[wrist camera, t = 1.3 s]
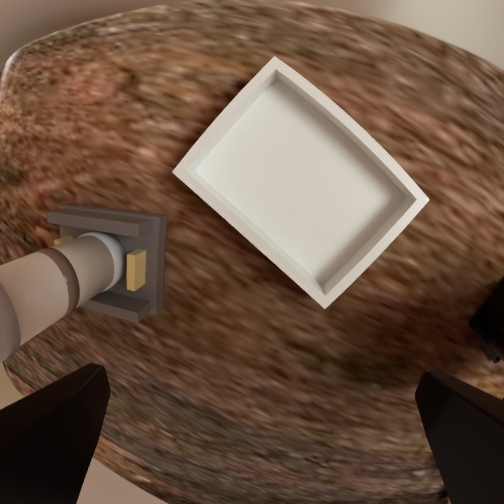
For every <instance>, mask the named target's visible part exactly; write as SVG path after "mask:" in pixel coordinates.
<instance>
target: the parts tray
mask: <svg viewBox="0 0 504 504" xmlns="http://www.w3.org/2000/svg"><path fill="white" fill-rule="evenodd" d="M172 173H173V174H175V175H176V176H177V177H178V178H179V179H180V180H181V181H182V182H184V183H185V184H186V185H187V186H188V187H189V188H190V189H192V190H193V191H194V192H195V193H196V194H197V195H198V196H199V197H201V198H202V199H203V200H204V201H205V202H206V203H207V204H208V205H209V206H211V207H212V208H213V209H214V210H215V211H216V212H217V213H218V214H220V215H221V216H222V217H223V218H224V219H225V220H226V221H227V222H229V223H230V224H231V225H232V226H233V227H234V228H235V229H236V230H238V231H239V232H240V233H241V234H242V235H243V236H244V237H245V238H246V239H248V240H249V241H250V242H251V243H252V244H253V245H254V246H255V247H257V248H258V249H259V250H260V251H261V252H262V253H263V254H264V255H265V256H267V257H268V258H269V259H270V260H271V261H272V262H273V263H274V264H275V265H277V266H278V267H279V268H280V269H281V270H282V271H283V272H284V273H285V274H287V275H288V276H289V277H290V278H291V279H292V280H293V281H294V282H295V283H297V284H298V285H299V286H300V287H301V288H302V289H303V290H304V291H305V292H307V293H308V294H309V295H310V296H311V297H312V298H313V299H314V300H315V301H317V302H318V303H319V304H320V305H321V306H322V307H323V308H324V309H326V308H327V307H328V306H329V305H330V304H331V303H332V302H333V301H334V300H335V299H336V298H337V297H338V296H339V295H340V294H341V293H342V292H343V291H344V290H345V289H346V288H348V287H349V286H350V285H351V284H352V283H353V282H354V281H355V280H356V279H357V278H358V277H359V276H360V275H361V274H362V273H363V272H364V271H365V270H366V269H367V268H368V266H369V265H370V264H371V263H372V262H373V261H374V260H375V259H376V258H377V257H378V256H379V255H380V254H381V253H382V252H383V251H384V250H385V249H386V248H387V247H388V246H389V245H390V243H391V242H392V241H393V240H394V239H395V238H396V237H397V236H398V235H399V234H400V233H401V232H402V230H403V229H404V228H405V227H406V226H407V225H408V224H409V223H410V222H411V220H412V219H413V218H414V217H415V216H416V215H417V214H418V212H419V211H420V210H421V209H422V208H423V207H424V206H425V204H426V203H427V202H428V201H429V199H428V197H427V196H426V195H425V194H424V193H423V191H422V190H421V189H420V188H419V187H418V186H417V184H416V183H415V182H414V181H413V180H412V179H411V178H410V177H409V175H408V174H407V173H406V172H405V171H404V170H403V169H402V168H401V167H400V166H399V164H398V163H397V162H396V161H395V160H394V159H393V158H392V157H391V156H390V155H389V154H388V153H387V152H386V151H385V150H384V149H383V148H382V147H381V146H380V145H379V144H378V143H377V142H376V141H375V140H374V139H373V138H372V137H371V136H370V135H369V134H368V133H367V132H366V131H365V130H364V129H363V128H362V127H361V126H360V125H359V124H357V123H356V122H355V121H354V120H353V119H352V118H351V117H350V116H349V115H348V114H347V113H345V112H344V111H343V110H342V109H341V108H340V107H339V106H337V105H336V104H335V103H334V102H333V101H332V100H330V99H329V98H328V97H327V96H326V95H325V94H323V93H322V92H321V91H320V90H318V89H317V88H316V87H315V86H314V85H312V84H311V83H310V82H309V81H307V80H306V79H305V78H303V77H302V76H301V75H300V74H298V73H297V72H296V71H294V70H293V69H292V68H290V67H289V66H288V65H286V64H285V63H283V62H282V61H281V60H279V59H278V58H277V57H275V56H274V57H273V58H272V59H271V60H270V61H269V62H268V63H267V64H266V65H265V66H264V67H263V68H262V69H261V70H260V71H259V72H258V73H257V74H256V76H255V77H254V78H253V79H252V80H251V81H250V82H249V83H248V84H247V85H246V86H245V87H244V88H243V89H242V90H241V91H240V92H239V93H238V95H237V96H236V97H235V98H234V99H233V100H232V101H231V102H230V103H229V104H228V106H227V107H226V108H225V109H224V110H223V111H222V112H221V113H220V115H219V116H218V117H217V118H216V119H215V120H214V121H213V123H212V124H211V125H210V126H209V127H208V128H207V130H206V131H205V132H204V133H203V134H202V136H201V137H200V138H199V139H198V140H197V142H196V143H195V144H194V145H193V146H192V148H191V149H190V150H189V151H188V153H187V154H186V155H185V156H184V158H183V159H182V160H181V161H180V163H179V164H178V165H177V166H176V168H175V169H174V170H173V172H172Z"/></svg>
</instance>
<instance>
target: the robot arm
mask: <svg viewBox="0 0 504 504" xmlns="http://www.w3.org/2000/svg"><path fill="white" fill-rule="evenodd" d="M475 323H476V324H475ZM474 324H475V325H474ZM469 326H470V328H471V330H472V331H473V332H474V334H475V335H476V337H477V338H478V340H479V341H480V343H481V344H482V346H483V347H484V349H485V350H486V352H487V353H488V355H489V356H490V358H491V359H492V361H493V362H494V363H498V362H499V361H500V360H501V359H502V360H503V361H504V282H503V283H502V284H501V285H500V287H499V288H498V289H497V290H496V292H495V293H494V294H493V295H492V296H491V298H490V299H489V300H488V301H487V302H486V303H485V305H484V306H483V307H482V308H481V309H480V310H479V311H478V313H477V314H476V315H475V316H474V317H473V318H472V319H471V321H470V323H469ZM109 398H110V385H109V381H108V377H107V373H106V369H105V367H104V366H103V365H99V364H94V363H89V364H87V365H85V366H83V367H81V368H79V369H78V370H76V371H74V372H72V373H70V374H68V375H66V376H64V377H62V378H61V379H59V380H57V381H55V382H53V383H51V384H49V385H47V386H45V387H43V388H42V389H40V390H38V391H36V392H34V393H32V394H30V395H28V396H26V397H24V398H22V399H20V400H18V401H16V402H14V403H13V404H11V405H8V406H6V407H4V408H3V409H1V410H0V504H76V503H77V500H78V497H79V494H80V491H81V488H82V485H83V482H84V479H85V476H86V473H87V471H88V468H89V465H90V462H91V459H92V457H93V454H94V451H95V449H96V446H97V443H98V440H99V436H100V433H101V429H102V425H103V421H104V417H105V413H106V409H107V405H108V401H109ZM415 400H416V403H417V406H418V409H419V413H420V416H421V420H422V423H423V426H424V430H425V433H426V437H427V440H428V442H429V445H430V447H431V450H432V453H433V455H434V458H435V460H436V463H437V466H438V468H439V471H440V474H441V477H442V479H443V482H444V485H445V488H446V491H447V494H448V497H449V500H450V503H451V504H504V398H503V400H501V399H499V398H497V397H494V396H492V395H490V394H488V393H486V392H484V391H482V390H480V389H478V388H475V387H473V386H471V385H469V384H467V383H465V382H463V381H461V380H459V379H457V378H455V377H453V376H451V375H448V374H446V373H444V372H442V371H440V370H438V369H432V370H427V371H425V372H424V373H423V375H422V377H421V380H420V382H419V385H418V387H417V389H416V392H415Z"/></svg>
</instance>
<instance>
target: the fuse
mask: <svg viewBox="0 0 504 504" xmlns="http://www.w3.org/2000/svg"><path fill="white" fill-rule="evenodd" d="M126 268H127V257H126V253H125V250H124V247H123V245H122V244H121V242H120V241H119V239H118V238H117V237H116V236H115V235H114V234H112V233H107V232H101V231H92V232H89V233H86V234H83V235H80V236H79V237H78V238H75V239H72V240H69V241H66V242H63V243H60V244H57V245H55V246H52V247H47V248H43V249H41V250H38V251H35V252H32V253H31V254H29V255H27V256H24V257H21V258H19V259H16V260H13V261H11V262H8V263H6V264H3V265H0V363H1V362H2V361H4V360H5V359H6V358H8V357H9V356H11V355H12V354H13V353H15V352H16V351H17V350H18V349H19V347H20V346H21V345H22V344H24V343H25V342H27V341H28V340H30V339H31V338H32V337H34V336H35V335H37V334H38V333H40V332H41V331H43V330H44V329H46V328H47V327H49V326H50V325H52V324H53V323H54V322H56V321H57V320H60V319H62V318H64V317H65V316H67V315H68V314H70V313H71V312H73V311H74V310H75V309H76V308H77V307H79V306H80V305H82V304H83V303H85V302H86V301H88V300H89V299H91V298H92V297H94V296H96V295H97V294H99V293H100V292H104V291H106V290H108V289H109V288H111V287H112V286H114V285H115V284H117V283H119V282H120V281H121V280H122V278H123V277H124V275H125V272H126Z"/></svg>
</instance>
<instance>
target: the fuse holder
mask: <svg viewBox="0 0 504 504" xmlns="http://www.w3.org/2000/svg"><path fill="white" fill-rule="evenodd" d="M47 223H53V224H59V225H60V238H59V239H55V240H54V242H55V245H57V244H60V243H63V242H66V241H69V240H72V239H75V238H78V237H79V236H80V235H83V234H86V233H89V232H92V231H101V232H107V233H112V234H114V235H115V236H116V237H117V238H118V239H119V241H120V242H121V244H122V245H123V247H124V250H125V253H126V257H127V268H126V272H125V275H124V277H123V278H122V280H121V281H120V282H119V283H117V284H115V285H114V286H112V287H111V288H109V289H108V290H106V291H104V292H100V293H99V294H97V295H96V296H94V297H92V298H91V299H89V300H88V301H86V302H85V303H83V304H82V305H80V307H83V308H86V309H89V310H93V311H96V312H99V313H102V314H106V315H109V316H113V317H116V318H120V319H123V320H127V321H130V322H134V323H139V322H140V321H141V320H142V319H143V318H144V317H145V316H146V315H147V314H152V315H156V316H157V315H158V314H159V312H160V311H161V310H162V309H163V284H164V259H165V241H166V226H167V215H162V214H154V213H147V212H139V211H131V210H123V209H114V208H106V207H98V206H89V205H80V204H71V203H68V204H63V205H60V209H57V210H52V211H47Z"/></svg>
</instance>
